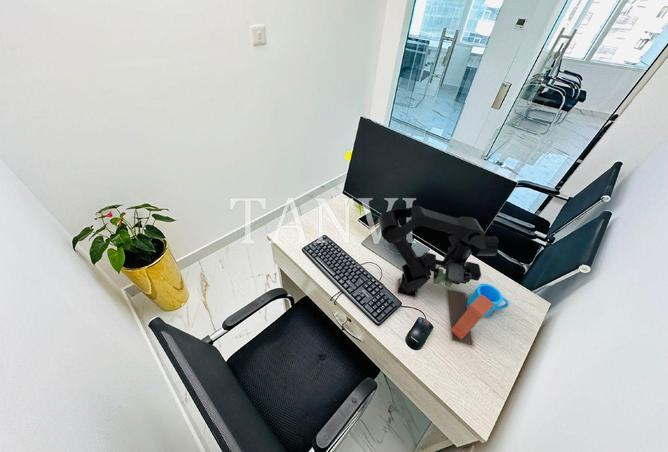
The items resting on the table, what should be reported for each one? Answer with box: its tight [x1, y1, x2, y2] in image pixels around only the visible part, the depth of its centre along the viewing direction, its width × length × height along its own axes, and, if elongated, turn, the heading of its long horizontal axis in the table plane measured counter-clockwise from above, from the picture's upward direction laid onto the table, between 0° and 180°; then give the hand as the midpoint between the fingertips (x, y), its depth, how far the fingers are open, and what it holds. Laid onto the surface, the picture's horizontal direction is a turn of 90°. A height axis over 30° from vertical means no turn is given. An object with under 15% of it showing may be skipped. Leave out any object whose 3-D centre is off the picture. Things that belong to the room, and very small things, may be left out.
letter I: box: [450, 294, 494, 340], centre depth 79 cm, size 4×6×16 cm, turn 127°
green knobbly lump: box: [432, 268, 453, 288], centre depth 93 cm, size 4×6×5 cm, turn 75°
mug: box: [467, 283, 510, 317], centre depth 90 cm, size 12×8×8 cm
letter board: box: [447, 289, 473, 346], centre depth 89 cm, size 6×20×1 cm, turn 165°
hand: (442, 280), depth 94 cm, fingers closed on green knobbly lump, 6 cm apart
